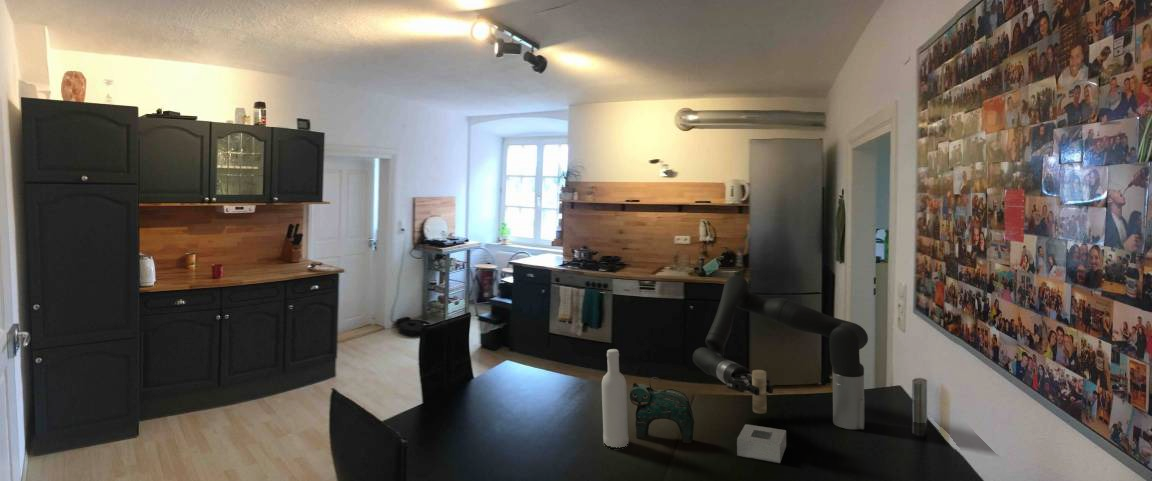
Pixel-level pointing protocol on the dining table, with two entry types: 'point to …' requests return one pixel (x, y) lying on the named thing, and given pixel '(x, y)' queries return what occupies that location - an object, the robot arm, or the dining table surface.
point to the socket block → (761, 443)
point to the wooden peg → (760, 399)
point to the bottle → (614, 403)
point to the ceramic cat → (661, 409)
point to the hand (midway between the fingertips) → (764, 391)
